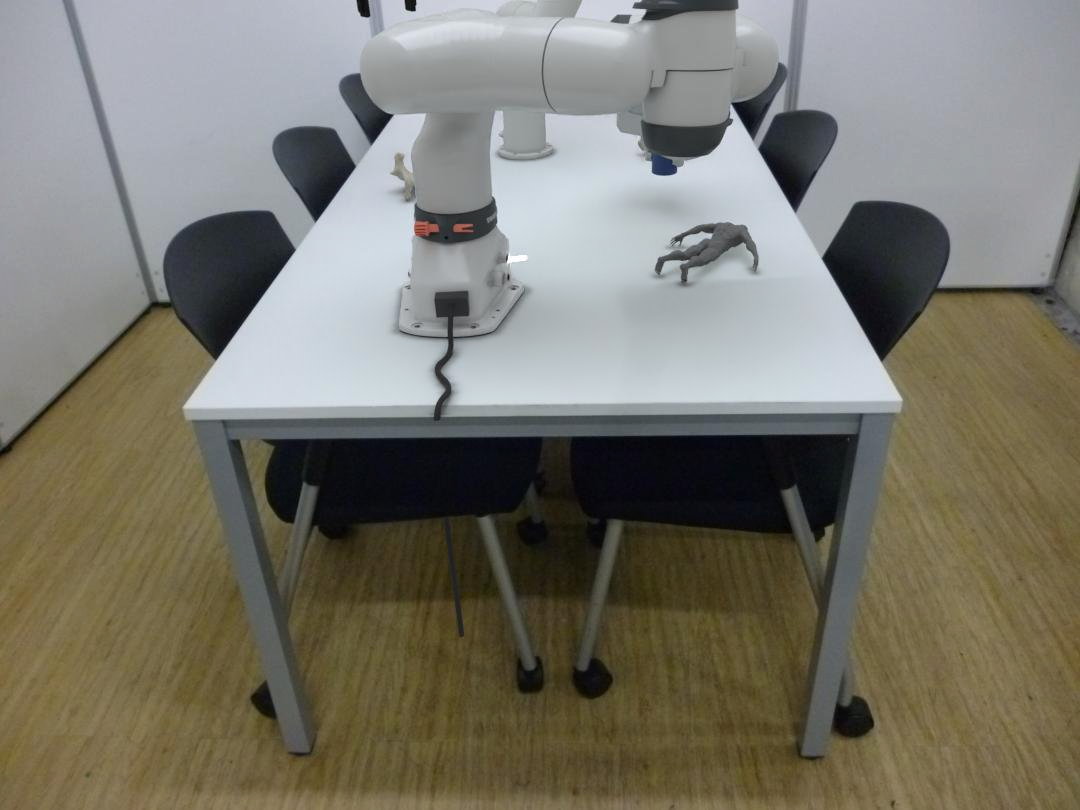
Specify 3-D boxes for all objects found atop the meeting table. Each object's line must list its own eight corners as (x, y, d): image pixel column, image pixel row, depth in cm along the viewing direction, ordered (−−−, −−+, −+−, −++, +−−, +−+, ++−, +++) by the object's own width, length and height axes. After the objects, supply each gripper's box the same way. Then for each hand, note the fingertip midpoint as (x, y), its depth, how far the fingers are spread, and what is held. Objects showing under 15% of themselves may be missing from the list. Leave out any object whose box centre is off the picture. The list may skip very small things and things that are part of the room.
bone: (410, 176, 161) (400, 143, 166) (391, 200, 165) (382, 166, 170) (452, 196, 168) (441, 163, 173) (433, 218, 172) (423, 185, 177)
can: (654, 167, 159) (655, 145, 157) (679, 168, 158) (680, 146, 156) (649, 175, 155) (650, 152, 153) (674, 176, 154) (675, 153, 152)
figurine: (714, 298, 124) (788, 252, 135) (715, 272, 122) (790, 227, 132) (628, 269, 134) (703, 228, 145) (628, 245, 132) (704, 205, 143)
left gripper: (727, 89, 144) (721, 168, 151) (632, 76, 156) (631, 150, 163) (706, 96, 140) (701, 177, 148) (611, 82, 152) (611, 158, 160)
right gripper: (408, -93, 157) (418, 7, 167) (322, -87, 149) (338, 17, 158) (427, -93, 152) (437, 10, 161) (339, -87, 144) (355, 21, 153)
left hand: (664, 163), depth 156 cm, fingers closed on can, 5 cm apart
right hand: (388, 13), depth 160 cm, fingers open, 9 cm apart
